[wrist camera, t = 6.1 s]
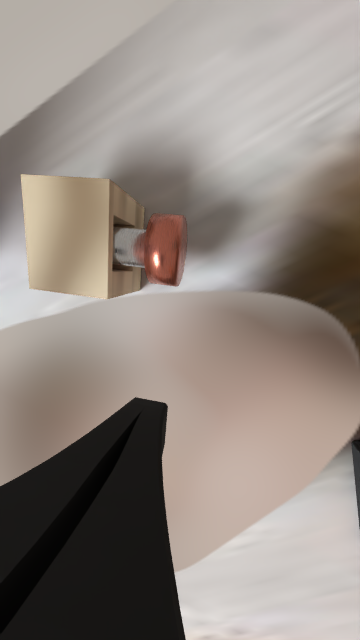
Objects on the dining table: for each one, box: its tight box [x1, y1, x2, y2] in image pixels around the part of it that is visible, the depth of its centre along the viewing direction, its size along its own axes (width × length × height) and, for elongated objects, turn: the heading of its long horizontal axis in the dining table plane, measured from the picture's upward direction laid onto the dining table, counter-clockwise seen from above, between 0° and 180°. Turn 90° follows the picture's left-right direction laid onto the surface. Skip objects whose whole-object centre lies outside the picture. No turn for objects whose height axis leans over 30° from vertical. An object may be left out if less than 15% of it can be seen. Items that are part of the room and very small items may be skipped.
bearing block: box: [21, 174, 145, 299], centre depth 14 cm, size 5×6×5 cm
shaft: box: [112, 213, 187, 286], centre depth 13 cm, size 8×4×4 cm, turn 84°
